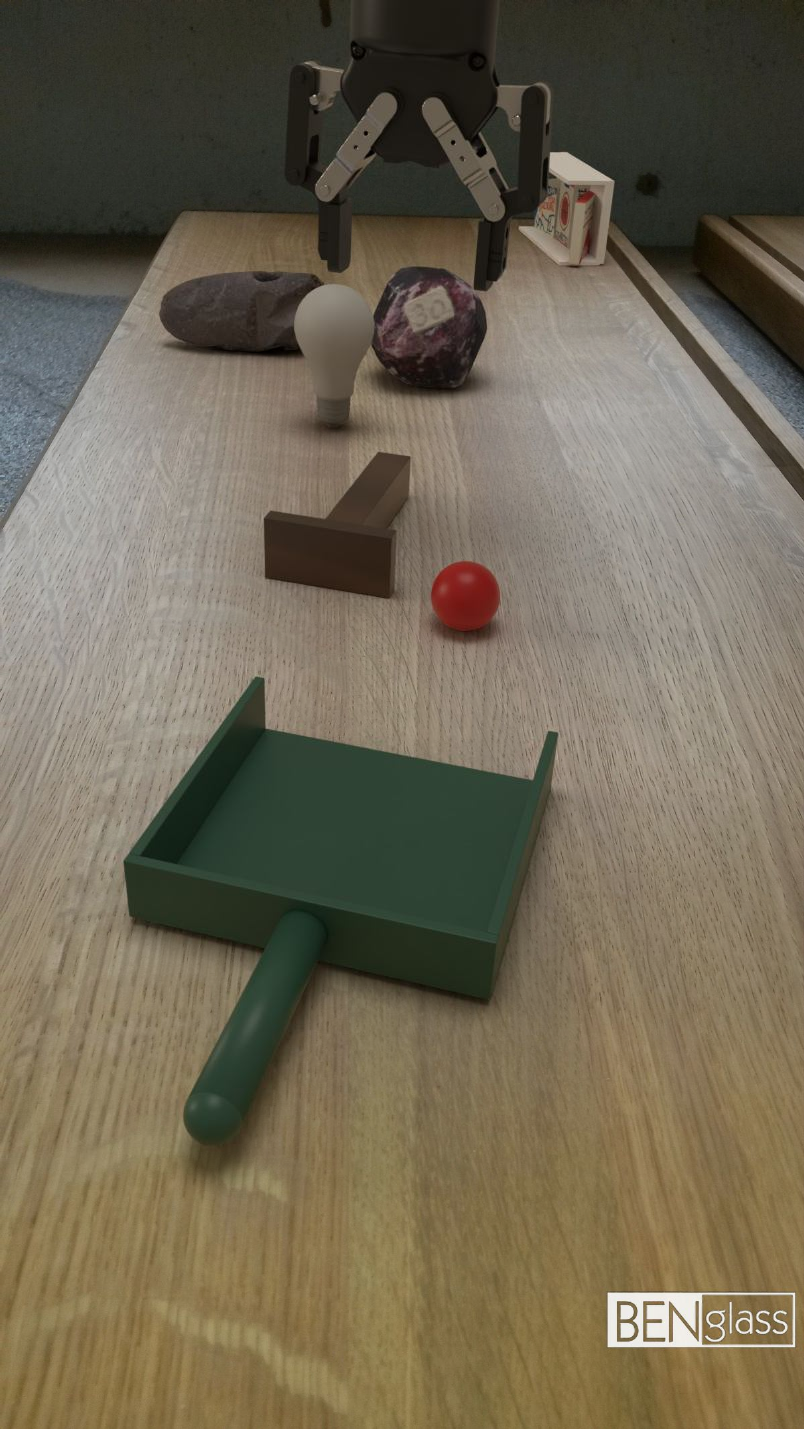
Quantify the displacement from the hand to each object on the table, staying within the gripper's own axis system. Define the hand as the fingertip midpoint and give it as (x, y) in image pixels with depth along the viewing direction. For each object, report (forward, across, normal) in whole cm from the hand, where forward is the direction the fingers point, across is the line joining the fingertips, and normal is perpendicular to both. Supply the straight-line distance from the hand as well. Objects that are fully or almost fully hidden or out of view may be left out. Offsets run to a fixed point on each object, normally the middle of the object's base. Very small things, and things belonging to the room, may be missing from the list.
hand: (409, 278), depth 69 cm
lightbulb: (+18, +11, -20) cm, 29 cm away
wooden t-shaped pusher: (+17, +3, -2) cm, 18 cm away
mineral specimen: (+18, +7, -34) cm, 39 cm away
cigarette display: (+17, +5, -90) cm, 92 cm away
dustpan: (+17, -7, +34) cm, 39 cm away
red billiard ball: (+15, -6, +8) cm, 18 cm away
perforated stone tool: (+18, +25, -36) cm, 47 cm away
